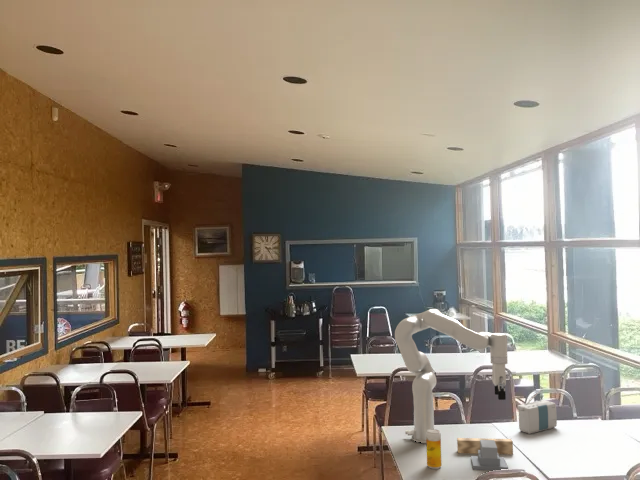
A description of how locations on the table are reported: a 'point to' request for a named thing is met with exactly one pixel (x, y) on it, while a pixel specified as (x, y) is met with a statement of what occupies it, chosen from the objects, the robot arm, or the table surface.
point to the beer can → (433, 448)
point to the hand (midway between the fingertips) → (500, 397)
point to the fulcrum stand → (488, 457)
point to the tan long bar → (474, 445)
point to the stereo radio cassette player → (537, 416)
